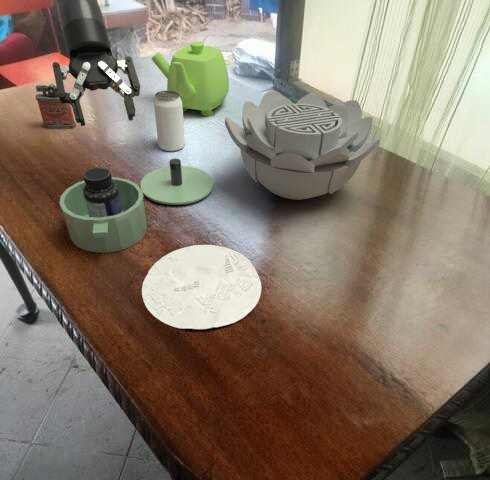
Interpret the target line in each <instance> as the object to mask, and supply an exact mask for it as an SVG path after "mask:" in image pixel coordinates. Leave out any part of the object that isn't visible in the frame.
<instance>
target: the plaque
mask: <svg viewBox="0 0 490 480" xmlns="http://www.w3.org/2000/svg"><path fill="white" fill-rule="evenodd" d="M261 294H262V281H261V278H260V276H259V274H258V271H257V270H256V268H255V265H254V264H253V263H252V261H250V259H248V258H247V257H246V256H245V255H244V254H242V253H240V252H238V251H236V250H234V249H232V248H228V247H224V246H221V245H214V244H196V245H195V244H194V245H190V246H185V247H181V248H178V249H175V250H173V251H172V252H171V251H170V252H169V253H167V254H165V255H164V256H162V257H161V258H159V260H157V261H156V262H155V263H154V264H153V265H152V266H151V267H150V269H149V270H148V272H147V275H145V277H144V280H143V282H142V285H141V297H142V300H143V303H144V306H145V307H146V309H147V311H149V313H150V314H151V315H152V316H153V317H154V318H156V319H157V320H159V322H162V323H163V324H166V325H168V326H171V327H173V328H177V329H182V330H185V329H186V330H187V329H189V330H190V329H192V330H207V329H213V328H219V327H224V326H228V325H231V324H235V323H236V322H238V321H240V320H242V319H244V318H245V317H247V315H248V314H250V313H251V312H252V311H253V309H254V308H256V306H257V305H258V303H259V301H260V298H261Z"/></svg>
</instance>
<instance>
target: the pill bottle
mask: <svg viewBox="0 0 490 480" xmlns="http://www.w3.org/2000/svg"><path fill="white" fill-rule="evenodd" d="M82 174H83V175H82V177H83V181H84V182H85V183H86V185H85V187H84V189H83V194H84V198H85V201H86V205H87V209H88V213H89V217H97V218H101V217H107V216H113V215H116V214H119V213H122V207H121V202H120V197H119V192H118V187H117V185H116V184H115V183H114V182H113V181H111V180H112V177H113V176H112V177H111V175H112V172H111V171H110V169H108V168H106V167H103V166H102V167H101V166H98V167H91V168H88V169H86V170H85V171H84V172H83V173H82Z"/></svg>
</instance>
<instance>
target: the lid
mask: <svg viewBox="0 0 490 480" xmlns="http://www.w3.org/2000/svg"><path fill="white" fill-rule="evenodd" d="M168 164H169V166H162V167H160V168H157V169H156V168H155V169H154V170H151V171H149V172H148V173H147V174H145V175H144V176H143V177H142V179H141V180H140V184H139V187H140V189H141V190H142V191H143V196H144V197H146V198H147V199H148V200H151V201H152V202H155V203H158V204H163V205H170V206H171V205H173V206H176V205H178V206H180V205H188V204H192V203H196V202H199V201H200V200H203V199H205V198H207V196H209V195H210V194H211V192H212V191H213V189H214V180H213V179H212V176H210V174H209V173H207V172H206V171H204V170H202V169H199V168H196V167H193V166H188V165H182V161H181V159H179V158H171V159H170V160H169V161H168Z"/></svg>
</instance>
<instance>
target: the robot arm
mask: <svg viewBox="0 0 490 480" xmlns="http://www.w3.org/2000/svg"><path fill="white" fill-rule="evenodd" d="M55 2H56V3H55V4H56V8H57V15H58V20H59V25H60V30H61V31H60V32H61V34H62V36H63V40H64V44H65V48H66V51H67V55H68V59H69V62H68V64H60V63H59V62H58V61H54V62H52V70H53V75H54V80H55V86H57V91H58V96H59V100H60V102H61V103H63V104H64V103H68V104H70V105H71V109H72V113H73V117H74V121H75V123H76V124H80V126H81V127H85V126H86V121H85V117H84V113H83V109H82V105H81V99H82V97H83V96H84V95H85V92H86V90H89V91H90V92H92V91H97V90H108V89H109V88H111V89H112V90H113V91H114V92H115V93H117V94H119V95H120V96H121V97H122V98H123V103H124V106H125V112H126V115H127V119H128V121H133V120H134V117H136V106H135V103H134V98H135V97H139V96H140V93H141V84H140V79H139V77H138V74H137V71H136V67H135V64H134V60H133V58H132V56H130V55H129V56H125V59H122V60H120V59H119V60H117V59H116V58H115V57H114V54H113V51H112V48H111V47H112V46H111V43H110V39H109V36H108V31H107V28H106V24H105V20H104V15H103V12H102V9H101V7H100V4H99V1H98V0H55ZM118 70H121V71H122V73H123V74H124V75H126V76H127V78H128V82H129V85H130V86H128V85H127V84H126V83H125V82H124V80H123V79H122V78H121V77H120V76H119V75H118V74H117V73H118ZM69 74H70V75H71V76H72V77H73V78H74V79H75V81H74V84H73V87H72V90H71V91H70V92H67V91H66V89H65V83H64V81H65V80H67V79H68V75H69Z"/></svg>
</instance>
